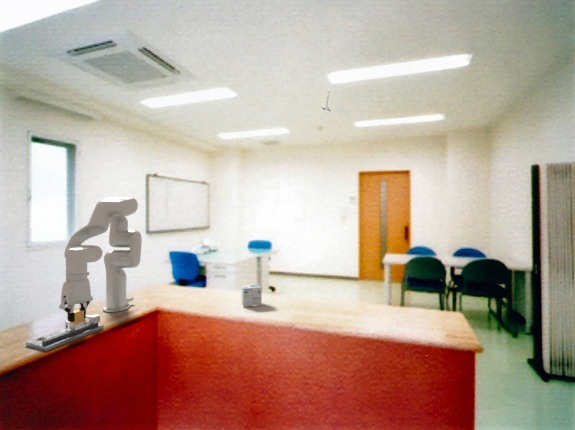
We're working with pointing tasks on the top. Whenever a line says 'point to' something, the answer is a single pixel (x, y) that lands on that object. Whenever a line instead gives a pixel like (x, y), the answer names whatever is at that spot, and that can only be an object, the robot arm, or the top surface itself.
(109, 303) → the robot arm
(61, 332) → the base
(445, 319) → the top surface
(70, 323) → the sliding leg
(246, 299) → the light bulb box
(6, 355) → the top surface
